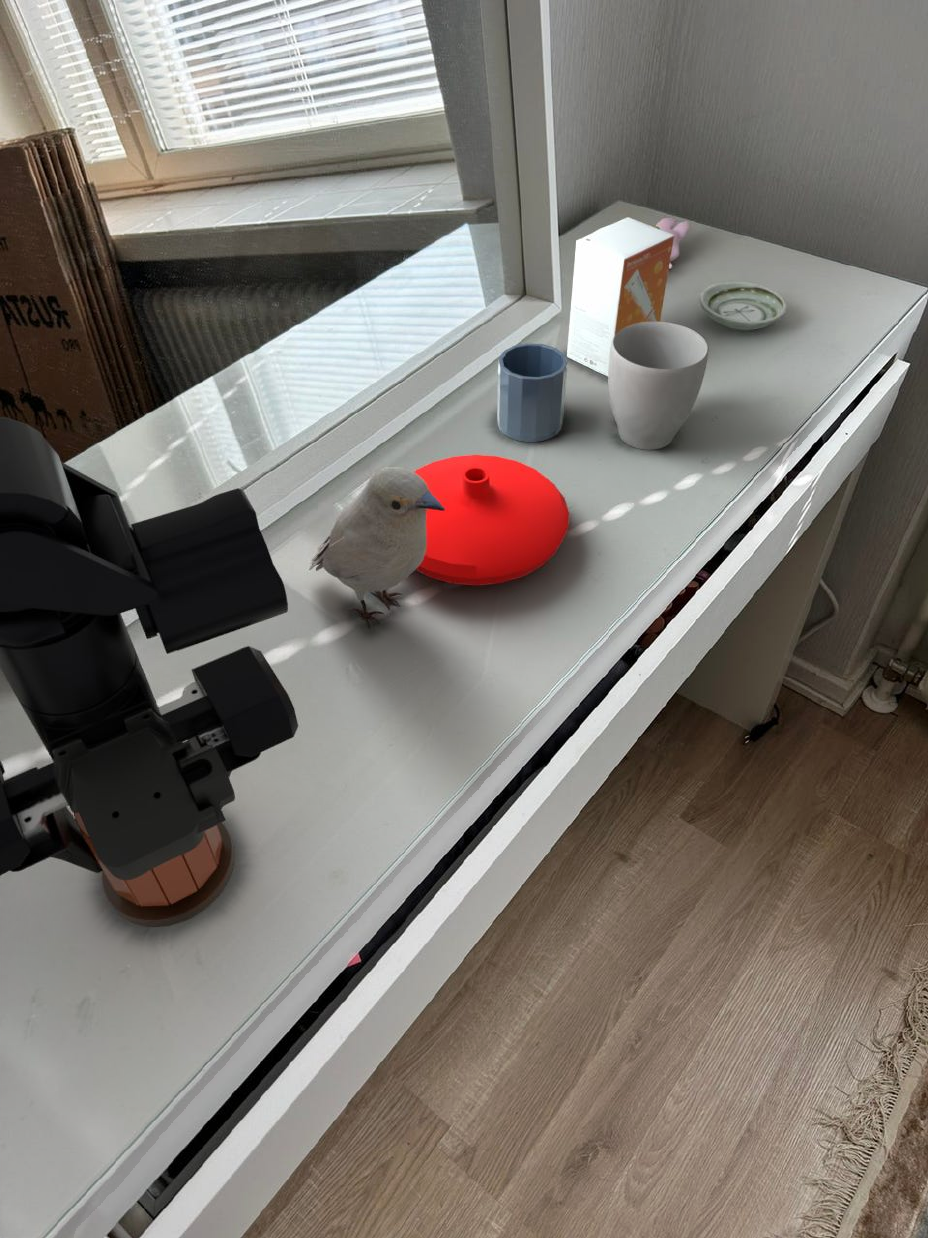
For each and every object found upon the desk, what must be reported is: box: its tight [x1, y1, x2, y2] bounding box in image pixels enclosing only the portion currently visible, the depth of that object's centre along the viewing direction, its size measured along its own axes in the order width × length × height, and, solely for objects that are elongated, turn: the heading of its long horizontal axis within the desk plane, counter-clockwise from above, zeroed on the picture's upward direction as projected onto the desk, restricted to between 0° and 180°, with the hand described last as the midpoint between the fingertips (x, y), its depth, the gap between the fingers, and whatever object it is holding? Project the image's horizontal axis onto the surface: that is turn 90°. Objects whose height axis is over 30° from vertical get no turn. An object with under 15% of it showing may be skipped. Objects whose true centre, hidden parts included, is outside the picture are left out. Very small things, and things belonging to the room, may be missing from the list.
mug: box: [607, 321, 709, 451], centre depth 87 cm, size 12×9×10 cm
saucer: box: [699, 281, 788, 332], centre depth 104 cm, size 10×10×2 cm
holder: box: [101, 822, 235, 927], centre depth 56 cm, size 8×8×6 cm
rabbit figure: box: [654, 217, 691, 270], centre depth 113 cm, size 6×6×15 cm
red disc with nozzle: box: [413, 454, 570, 586], centre depth 77 cm, size 16×16×7 cm
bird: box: [308, 466, 445, 630], centre depth 68 cm, size 5×14×15 cm, turn 56°
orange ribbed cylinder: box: [73, 813, 222, 906], centre depth 54 cm, size 7×7×7 cm
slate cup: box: [496, 342, 569, 443], centre depth 89 cm, size 6×6×7 cm
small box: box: [566, 216, 674, 378], centre depth 96 cm, size 8×6×13 cm
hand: (156, 837), depth 55 cm, fingers closed on orange ribbed cylinder, 7 cm apart
